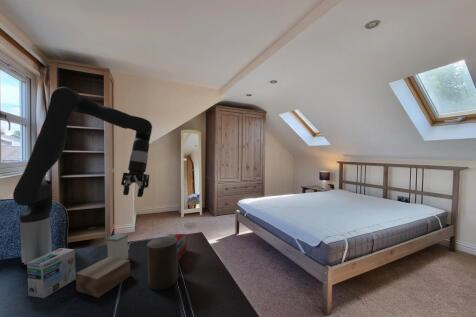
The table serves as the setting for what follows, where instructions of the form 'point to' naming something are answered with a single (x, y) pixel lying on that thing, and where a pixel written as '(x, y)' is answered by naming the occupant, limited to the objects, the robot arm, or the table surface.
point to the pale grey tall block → (118, 246)
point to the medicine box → (179, 244)
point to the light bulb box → (51, 272)
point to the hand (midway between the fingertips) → (132, 195)
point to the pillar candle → (162, 263)
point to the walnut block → (102, 276)
